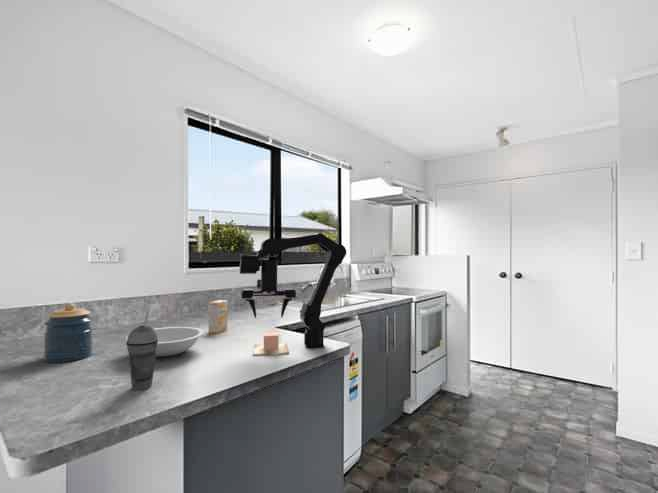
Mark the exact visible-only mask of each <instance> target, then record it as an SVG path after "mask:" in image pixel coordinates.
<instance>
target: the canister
mask: <svg viewBox="0 0 658 493" xmlns="http://www.w3.org/2000/svg"><path fill="white" fill-rule="evenodd" d="M90 313H91V311H89V310H87V309H86V308H84V307H75V304H74V303H72V302H68V303H66V304H65V305H64V308H61V309H55V310H53V311H52V312H50V313H49V314H47V318H48V319H47V320H45V321H44V322H43V325H44V326H45V331H44V332H43V335H44V337H43V340H44V342H43V354H42V357H43V360H44V362H45V363H46V362H47V363H66V362H67V363H68V362H72V361H77V360H82V359H85V358H88V357H90V356H91V355H92V352H93V348H94V347H93V330H94V328H93V327H92V322H93V321H94V318H93V317H92V316H90Z"/></svg>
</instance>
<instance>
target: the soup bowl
mask: <svg viewBox="0 0 658 493" xmlns="http://www.w3.org/2000/svg"><path fill="white" fill-rule="evenodd" d="M153 329H154V330H155V332H156V334H157V338H158V342H157V348H156V352H155V357H171V356H174V355H178V354H181V353H184V352H186V351H188V350H189V349H191V348H192V347H193V346H194V345H195V344H196V343H197V341H198V340H199V338H200V337H203V335H204V334H205V332H204V330H203V329H201V328H197V327H191V326H189V327H188V326H170V327H167V326H166V327H159V328H157V327H156V328H153ZM128 336H129V335H127V336H126V337H125V342H126V343H127V338H128Z"/></svg>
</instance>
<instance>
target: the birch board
mask: <svg viewBox="0 0 658 493" xmlns="http://www.w3.org/2000/svg"><path fill="white" fill-rule="evenodd" d="M252 350H253V351H252V356H253V357H254V356H255V357H256V356H273V355H274V356H276V355H280V356H281V355H289V354H290V350H289V348H288V342H285V343H279V342H278V350H264V343H262V344H260V343H257V344H253V349H252Z"/></svg>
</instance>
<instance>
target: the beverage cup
mask: <svg viewBox="0 0 658 493" xmlns="http://www.w3.org/2000/svg"><path fill="white" fill-rule="evenodd" d="M149 310H150V309H149V308H146V312H145V320H144V325H139V326H136V327H135V328H133V329H132V330H131V331H130V332H129V334H128V335H127V336H128V338H127V342H126V344H125V345H126V348H127V353H128V358H129V359H128V360H129V375H130V384H131V390H132V391H144V390H148V389H150V388H151V387H152V385H153V379H154V372H155V371H154V370H155V362H156V356H155V352H156V348H157V342H158V338H157V334H156V332H155V330H154V329H155V328H153V327H151V326H149V325H148V318H149V317H148V316H149Z"/></svg>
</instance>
